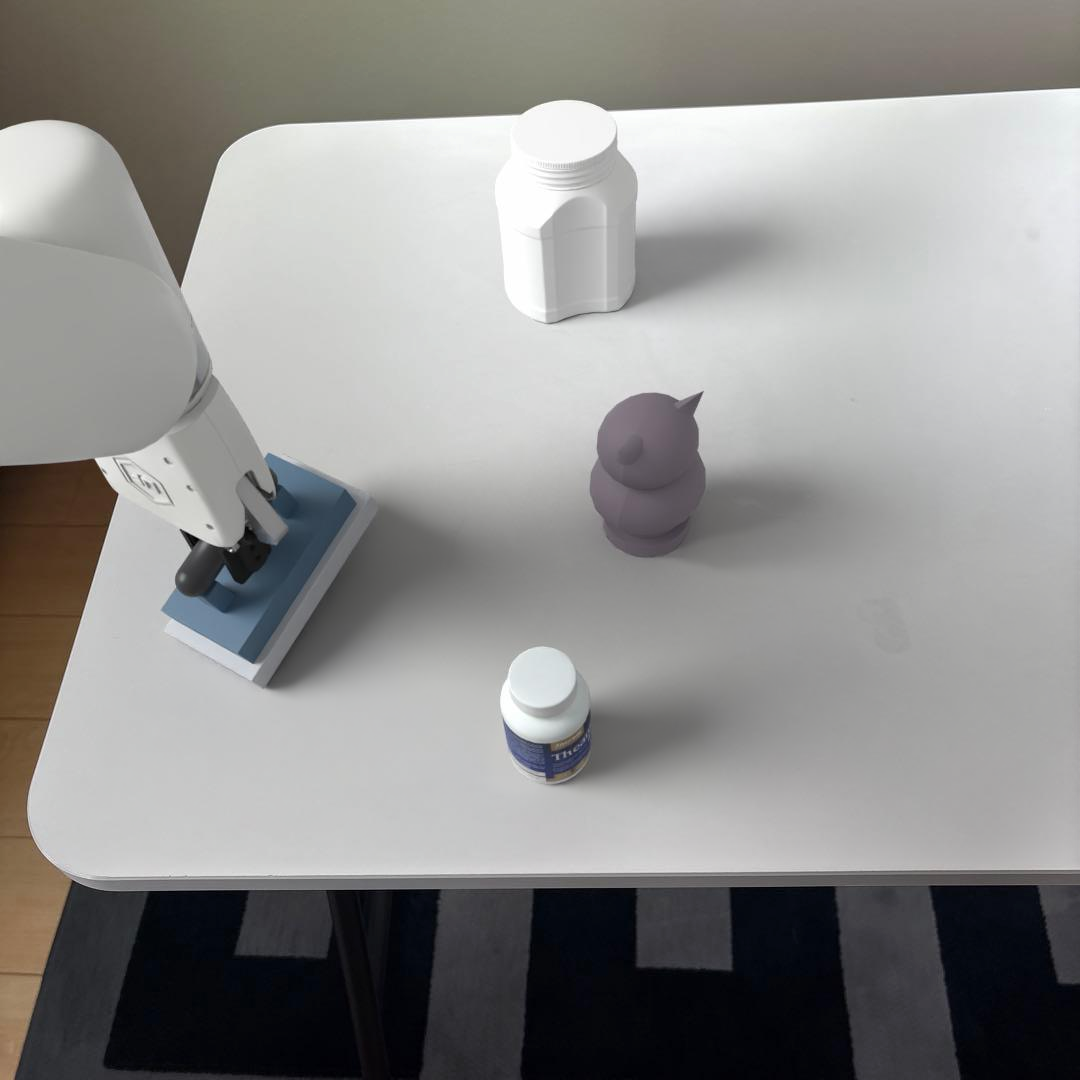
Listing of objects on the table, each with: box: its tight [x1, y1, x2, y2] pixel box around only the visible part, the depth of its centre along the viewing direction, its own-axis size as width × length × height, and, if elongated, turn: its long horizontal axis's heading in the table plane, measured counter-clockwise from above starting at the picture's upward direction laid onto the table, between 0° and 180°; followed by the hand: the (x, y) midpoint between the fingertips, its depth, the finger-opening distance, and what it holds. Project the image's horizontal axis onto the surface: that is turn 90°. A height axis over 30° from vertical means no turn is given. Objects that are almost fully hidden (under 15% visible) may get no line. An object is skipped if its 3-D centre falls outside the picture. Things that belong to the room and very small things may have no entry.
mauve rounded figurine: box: [588, 390, 707, 558], centre depth 74 cm, size 8×8×12 cm
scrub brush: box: [160, 452, 381, 690], centre depth 71 cm, size 15×8×9 cm, turn 149°
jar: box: [494, 99, 639, 324], centre depth 88 cm, size 12×10×15 cm
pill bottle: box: [499, 645, 592, 785], centre depth 65 cm, size 5×5×10 cm
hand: (235, 556), depth 70 cm, fingers closed on scrub brush, 2 cm apart
